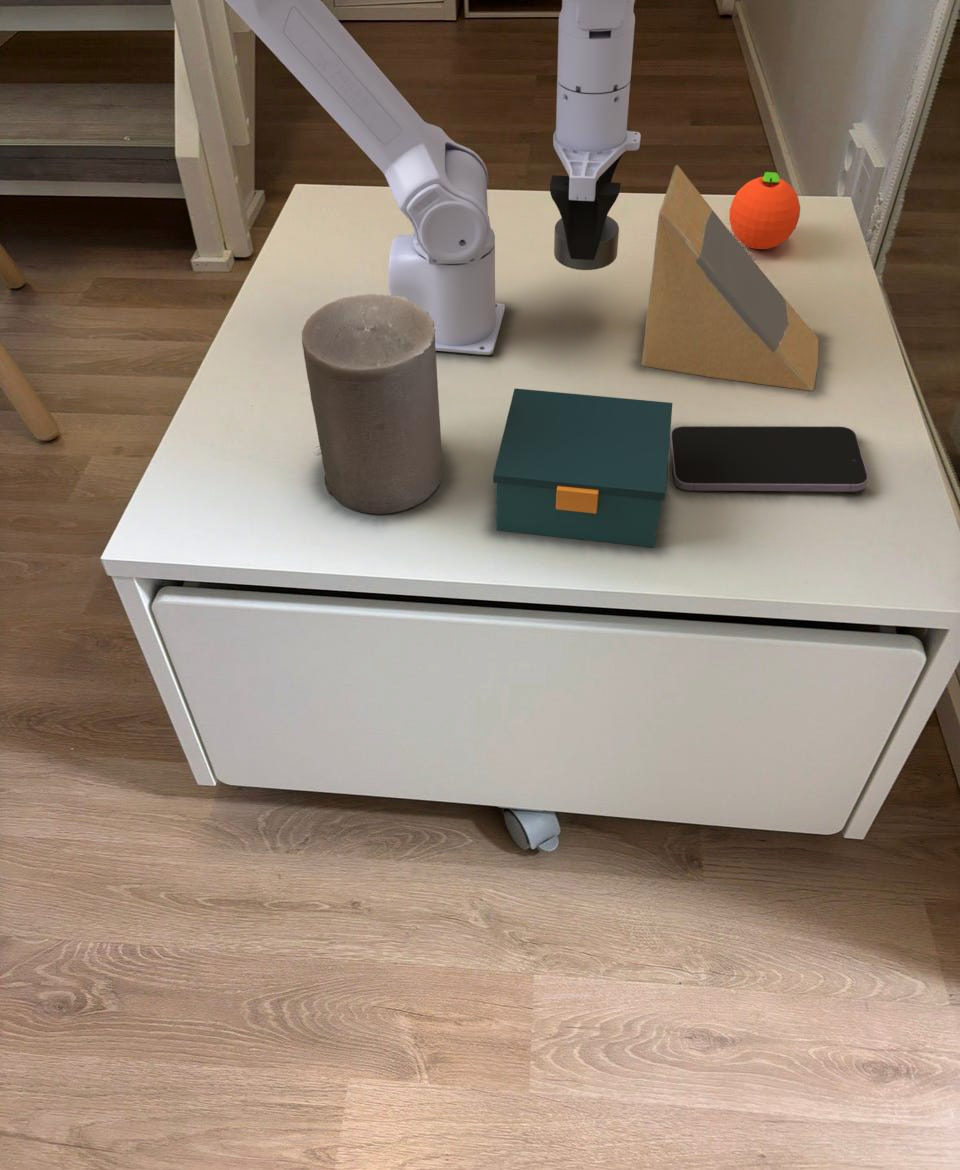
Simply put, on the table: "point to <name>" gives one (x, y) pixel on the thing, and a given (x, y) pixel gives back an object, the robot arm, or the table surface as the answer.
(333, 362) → the pillar candle
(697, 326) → the sandwich container
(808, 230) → the table surface
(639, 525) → the box
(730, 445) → the smartphone
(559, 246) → the grey disc
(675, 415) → the table surface
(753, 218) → the clementine
